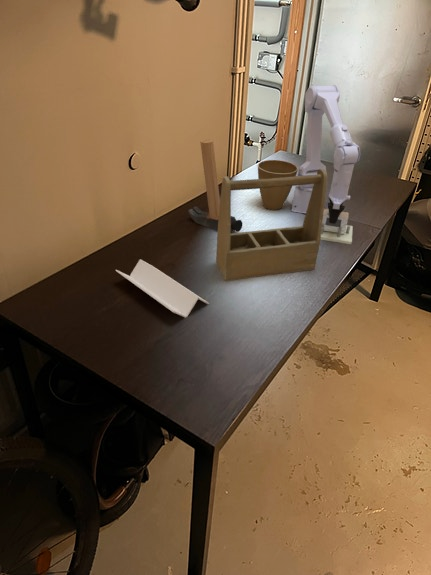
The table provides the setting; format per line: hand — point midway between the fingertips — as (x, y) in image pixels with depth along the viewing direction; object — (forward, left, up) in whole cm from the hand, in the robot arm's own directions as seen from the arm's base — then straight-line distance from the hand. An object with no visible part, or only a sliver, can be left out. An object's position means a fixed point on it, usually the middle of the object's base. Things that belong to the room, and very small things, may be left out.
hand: (332, 219), depth 149 cm
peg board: (0, 0, -5) cm, 5 cm away
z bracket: (-43, -52, -6) cm, 68 cm away
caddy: (-18, -29, -6) cm, 35 cm away
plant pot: (-23, +15, -5) cm, 28 cm away
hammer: (-40, -9, -6) cm, 41 cm away
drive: (0, 0, -3) cm, 4 cm away
